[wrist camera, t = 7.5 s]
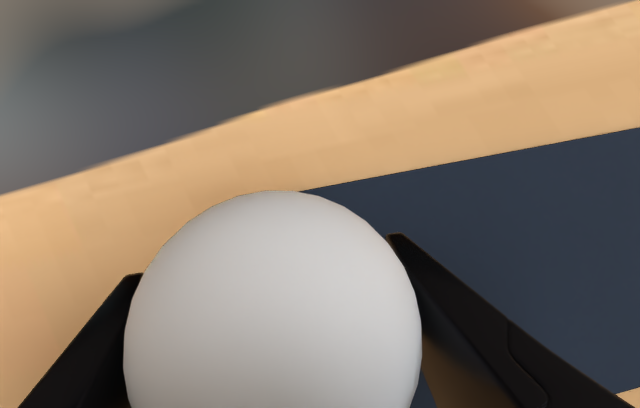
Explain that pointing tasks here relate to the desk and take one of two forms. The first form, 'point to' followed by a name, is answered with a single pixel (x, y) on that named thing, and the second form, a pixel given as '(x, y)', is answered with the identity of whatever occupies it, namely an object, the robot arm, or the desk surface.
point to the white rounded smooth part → (274, 312)
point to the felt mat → (531, 242)
